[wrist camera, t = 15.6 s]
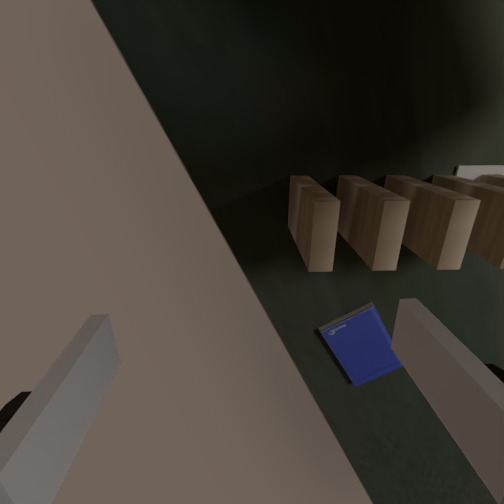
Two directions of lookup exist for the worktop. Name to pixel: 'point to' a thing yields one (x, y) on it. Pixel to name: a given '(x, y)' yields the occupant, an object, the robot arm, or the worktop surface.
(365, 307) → the hard drive
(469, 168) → the end pad
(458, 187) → the domino
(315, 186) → the domino
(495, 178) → the domino
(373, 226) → the domino
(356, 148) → the worktop surface
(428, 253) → the domino
